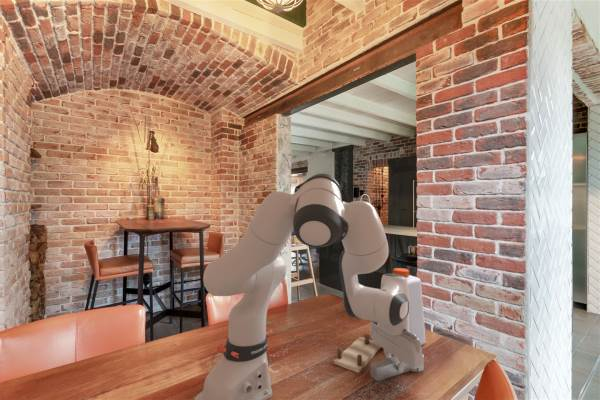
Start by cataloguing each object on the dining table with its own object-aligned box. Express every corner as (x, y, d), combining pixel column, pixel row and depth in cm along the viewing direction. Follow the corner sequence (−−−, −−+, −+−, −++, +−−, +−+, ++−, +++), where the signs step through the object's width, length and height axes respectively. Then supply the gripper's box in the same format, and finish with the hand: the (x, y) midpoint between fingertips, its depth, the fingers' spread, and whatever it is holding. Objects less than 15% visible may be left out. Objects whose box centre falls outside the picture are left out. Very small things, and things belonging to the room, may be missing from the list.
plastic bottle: (398, 328, 124) (397, 263, 125) (430, 343, 112) (429, 270, 112) (373, 337, 116) (372, 268, 116) (404, 354, 104) (404, 276, 104)
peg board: (358, 373, 92) (358, 359, 92) (333, 363, 98) (333, 351, 98) (381, 346, 109) (381, 335, 109) (359, 339, 115) (359, 329, 115)
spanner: (380, 384, 86) (380, 371, 87) (367, 373, 92) (367, 360, 92) (427, 368, 95) (427, 356, 95) (413, 359, 100) (413, 347, 100)
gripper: (428, 335, 85) (428, 383, 85) (381, 311, 103) (381, 350, 103) (411, 339, 82) (412, 388, 82) (367, 314, 101) (367, 354, 101)
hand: (394, 367), depth 93 cm, fingers closed on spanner, 3 cm apart
